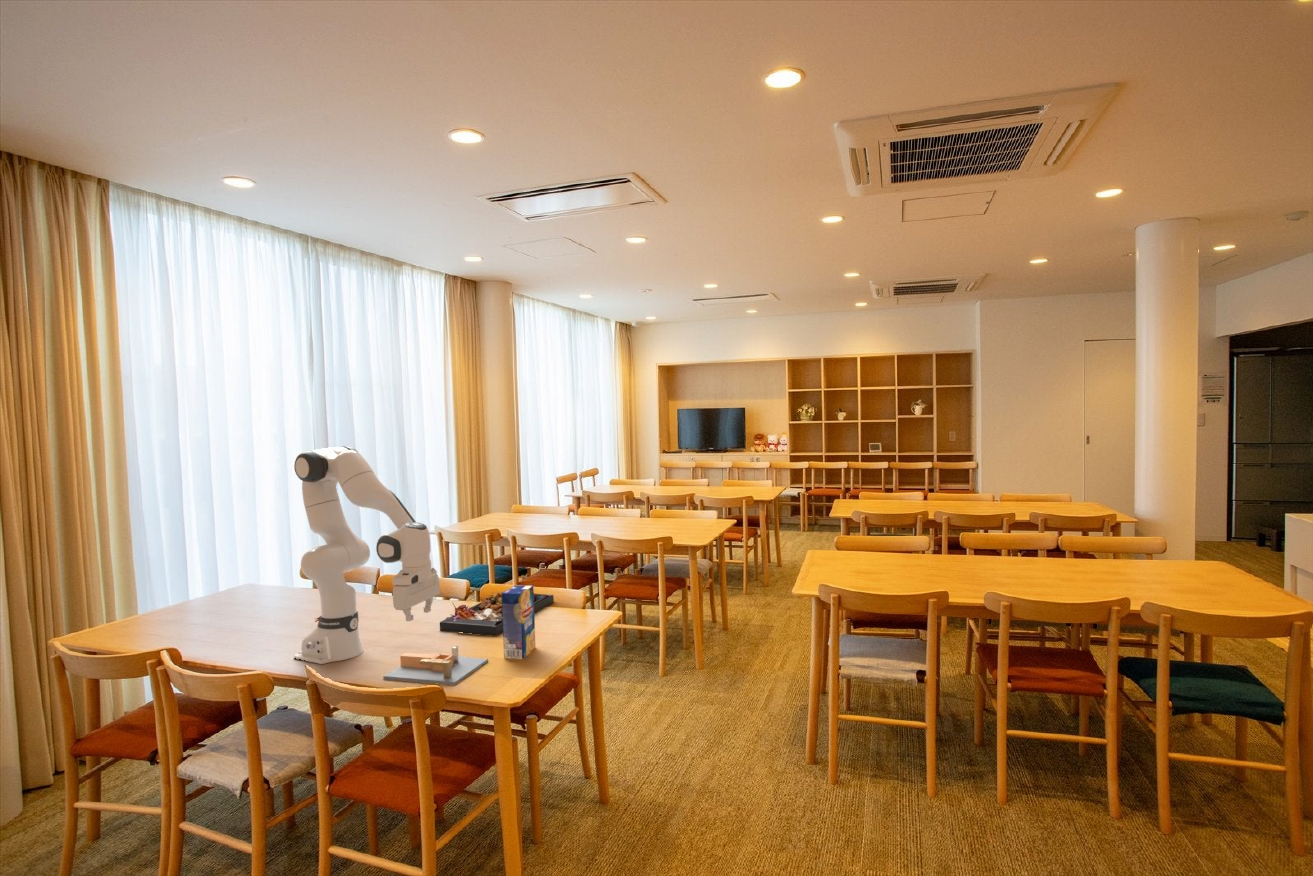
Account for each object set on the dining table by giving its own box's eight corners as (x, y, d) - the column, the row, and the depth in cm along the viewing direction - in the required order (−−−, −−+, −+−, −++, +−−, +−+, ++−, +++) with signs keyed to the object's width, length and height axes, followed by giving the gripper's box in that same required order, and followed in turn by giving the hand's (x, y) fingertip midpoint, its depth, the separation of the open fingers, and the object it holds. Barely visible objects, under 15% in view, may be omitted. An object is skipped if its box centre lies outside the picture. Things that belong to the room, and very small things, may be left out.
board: (383, 679, 212) (383, 676, 212) (421, 656, 232) (421, 653, 232) (454, 685, 206) (454, 682, 206) (488, 661, 225) (488, 658, 225)
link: (398, 667, 219) (398, 656, 219) (408, 661, 224) (408, 651, 224) (445, 671, 215) (444, 660, 215) (454, 665, 220) (453, 654, 220)
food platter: (496, 638, 250) (495, 610, 250) (440, 633, 258) (438, 606, 258) (553, 605, 293) (552, 581, 293) (503, 601, 301) (502, 578, 301)
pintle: (451, 663, 222) (450, 648, 222) (454, 661, 224) (453, 646, 224) (456, 663, 221) (455, 648, 221) (459, 661, 223) (459, 646, 223)
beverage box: (535, 648, 236) (533, 585, 236) (523, 660, 226) (520, 594, 225) (517, 648, 238) (514, 585, 237) (503, 659, 227) (501, 593, 226)
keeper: (420, 676, 211) (419, 661, 211) (424, 674, 213) (423, 658, 213) (448, 678, 208) (447, 663, 208) (451, 676, 210) (451, 660, 210)
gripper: (427, 566, 230) (429, 606, 231) (388, 580, 210) (390, 625, 211) (444, 566, 228) (445, 607, 229) (406, 581, 209) (407, 626, 209)
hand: (418, 616), depth 220 cm, fingers open, 8 cm apart
